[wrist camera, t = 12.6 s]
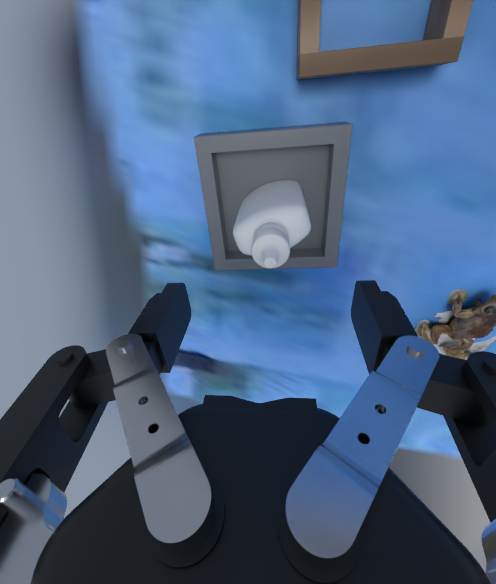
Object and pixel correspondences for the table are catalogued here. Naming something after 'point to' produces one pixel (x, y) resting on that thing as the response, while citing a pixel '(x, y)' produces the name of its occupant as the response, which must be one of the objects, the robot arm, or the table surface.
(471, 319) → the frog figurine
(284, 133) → the tray
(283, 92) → the table surface
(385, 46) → the holder collar
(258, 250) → the eye dropper bottle
